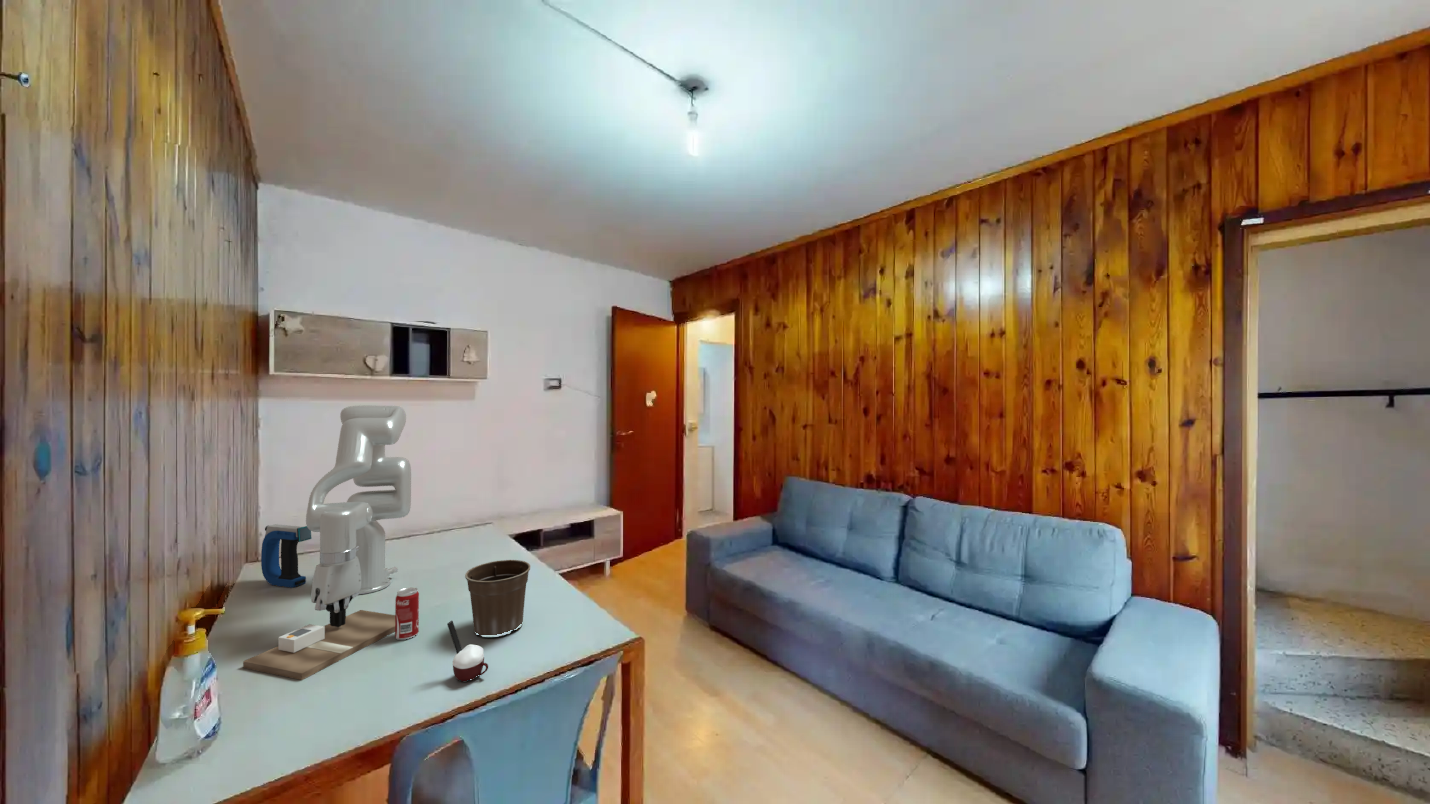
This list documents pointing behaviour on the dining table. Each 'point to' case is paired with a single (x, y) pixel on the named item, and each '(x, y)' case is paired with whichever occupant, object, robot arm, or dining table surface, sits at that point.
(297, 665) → the board
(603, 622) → the dining table surface
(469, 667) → the cocoa
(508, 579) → the plant pot
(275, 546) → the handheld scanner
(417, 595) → the soda can
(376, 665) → the dining table surface
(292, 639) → the block
